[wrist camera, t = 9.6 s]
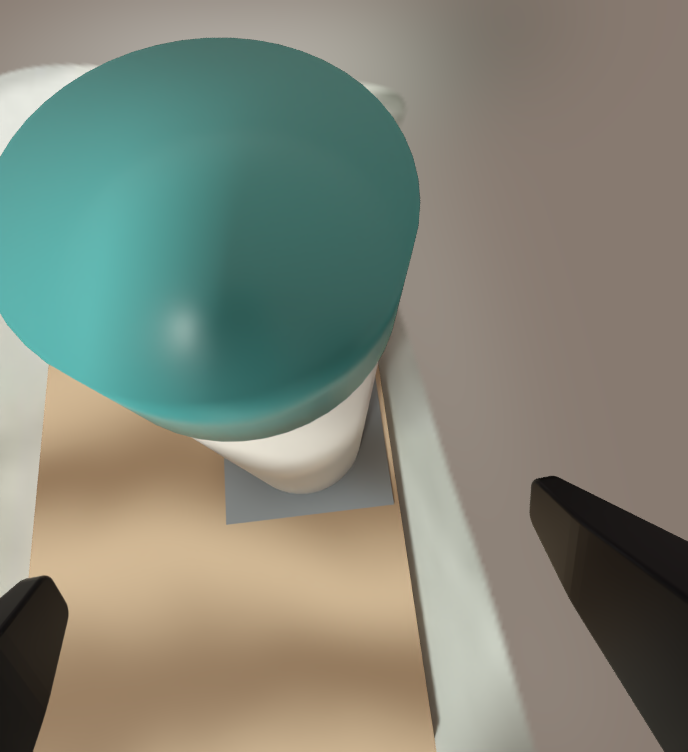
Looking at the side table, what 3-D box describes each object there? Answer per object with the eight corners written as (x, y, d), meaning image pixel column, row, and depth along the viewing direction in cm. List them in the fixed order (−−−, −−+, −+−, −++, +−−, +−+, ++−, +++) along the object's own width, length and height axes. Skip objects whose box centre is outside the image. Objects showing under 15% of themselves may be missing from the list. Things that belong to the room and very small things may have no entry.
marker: (330, 519, 16) (295, 489, 4) (218, 463, 17) (-121, 282, 4) (383, 405, 18) (481, 114, 5) (277, 357, 18) (140, -6, 6)
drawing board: (432, 744, 15) (437, 754, 14) (19, 804, 14) (3, 818, 13) (361, 262, 20) (362, 253, 20) (64, 291, 20) (55, 283, 19)
